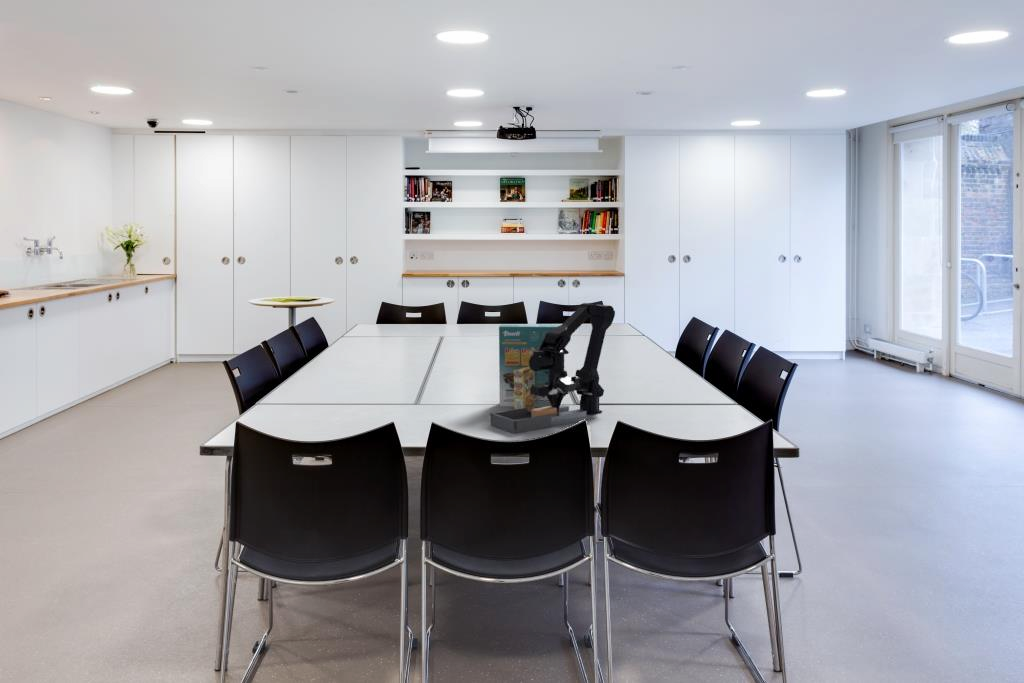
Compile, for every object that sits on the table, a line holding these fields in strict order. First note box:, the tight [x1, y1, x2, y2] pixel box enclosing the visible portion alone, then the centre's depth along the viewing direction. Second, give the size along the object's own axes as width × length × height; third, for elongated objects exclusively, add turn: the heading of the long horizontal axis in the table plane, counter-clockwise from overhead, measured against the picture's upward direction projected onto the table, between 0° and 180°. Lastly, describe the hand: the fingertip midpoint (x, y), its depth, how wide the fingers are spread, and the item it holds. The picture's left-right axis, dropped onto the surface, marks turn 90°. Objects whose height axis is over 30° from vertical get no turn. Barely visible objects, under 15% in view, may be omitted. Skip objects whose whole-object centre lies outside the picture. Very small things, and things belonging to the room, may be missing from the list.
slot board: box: [528, 404, 588, 428], centre depth 293 cm, size 16×14×3 cm
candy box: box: [513, 367, 536, 410], centre depth 309 cm, size 9×4×15 cm, turn 150°
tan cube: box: [530, 407, 547, 417], centre depth 288 cm, size 4×4×4 cm
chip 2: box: [541, 406, 557, 415], centre depth 291 cm, size 4×4×4 cm
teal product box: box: [498, 324, 560, 408], centre depth 315 cm, size 22×6×30 cm, turn 84°
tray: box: [490, 408, 552, 435], centre depth 284 cm, size 15×14×4 cm
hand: (556, 412), depth 292 cm, fingers closed
